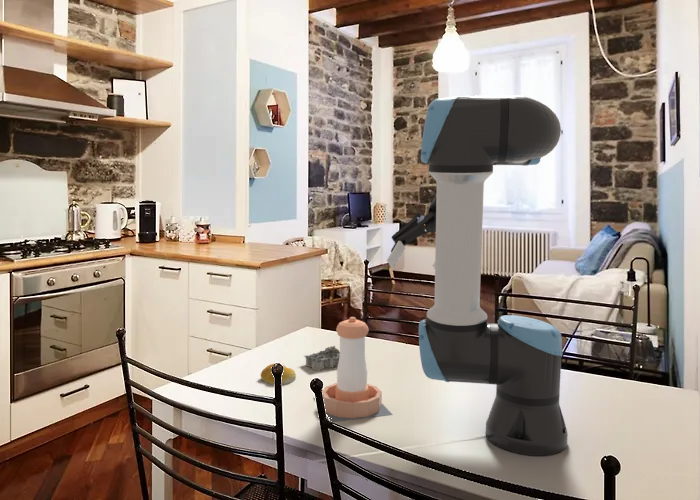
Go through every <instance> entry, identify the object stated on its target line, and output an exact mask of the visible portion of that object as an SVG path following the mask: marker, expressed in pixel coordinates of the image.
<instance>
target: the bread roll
mask: <svg viewBox="0 0 700 500" xmlns="http://www.w3.org/2000/svg"><path fill="white" fill-rule="evenodd" d="M274 364H275V363H272V364H271V363H270V364H269V365H267V366H266V367H265V368H263V369H262V371H261V373H260V378H261V379H262V381H263V382H266V383H267V384H270V385H274V377H273V375H272V373H271V367H272V366H273V365H274ZM282 365H283V364H282ZM283 367H284V372H283V375H282V384H281V385H287V384H291V383H292V382H295V380H296V379H297V375H296V372H295V370H294V369H292V368H289V367H287V366H286V365H283Z"/></svg>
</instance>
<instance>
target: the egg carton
mask: <svg viewBox="0 0 700 500" xmlns="http://www.w3.org/2000/svg"><path fill="white" fill-rule="evenodd" d="M339 356H340V349H339V348H337V347H336V345H332V346H328V347H325V349H324V350H320V351H318V352H316V353H314V352H313V353H312V354H309V355H308V354H307V355H304V358H305V366H306V367H311V369H312V370H318V369H319V371H321V369H322V370H323V369H324V368H329V367H332V368H334V366H338V362H339ZM333 365H334V366H333ZM323 367H324V368H323Z"/></svg>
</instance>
